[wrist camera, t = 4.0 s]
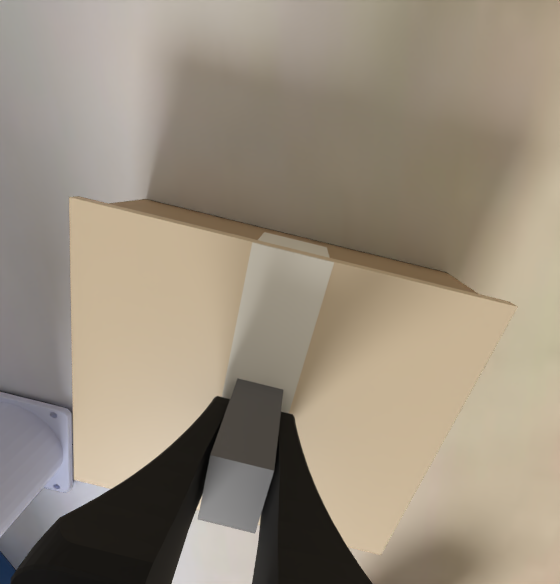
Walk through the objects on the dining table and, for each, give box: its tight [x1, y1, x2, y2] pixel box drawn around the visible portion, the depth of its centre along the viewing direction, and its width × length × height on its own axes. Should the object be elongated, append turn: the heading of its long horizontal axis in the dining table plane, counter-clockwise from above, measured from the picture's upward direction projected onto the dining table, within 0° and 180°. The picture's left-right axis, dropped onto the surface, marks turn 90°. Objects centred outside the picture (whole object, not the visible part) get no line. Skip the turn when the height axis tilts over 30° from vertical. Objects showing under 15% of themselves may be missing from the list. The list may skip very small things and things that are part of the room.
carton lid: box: [69, 196, 517, 555], centre depth 12 cm, size 17×15×4 cm
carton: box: [110, 199, 478, 294], centre depth 17 cm, size 16×14×4 cm
